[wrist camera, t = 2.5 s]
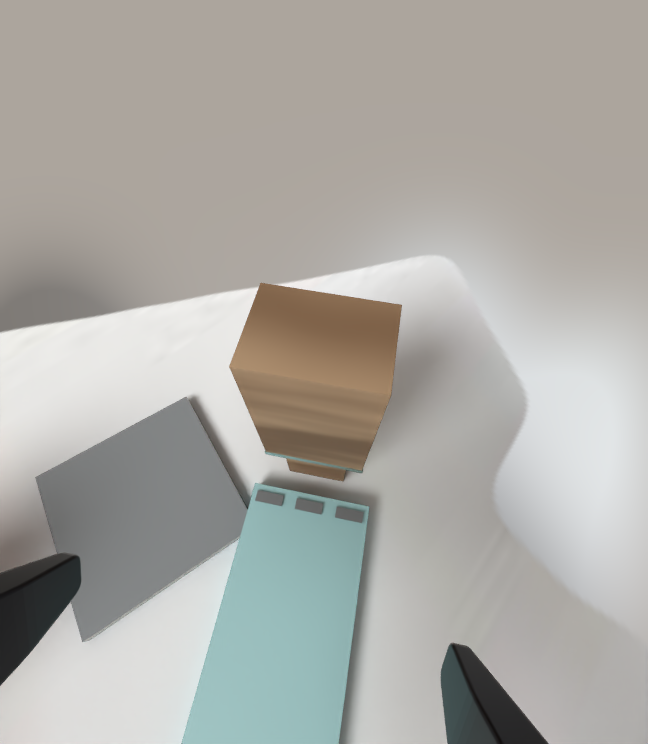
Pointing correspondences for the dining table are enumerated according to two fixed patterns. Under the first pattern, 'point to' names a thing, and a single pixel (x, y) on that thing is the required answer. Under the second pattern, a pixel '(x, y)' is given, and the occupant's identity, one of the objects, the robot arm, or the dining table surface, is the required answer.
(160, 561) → the coaster
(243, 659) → the board
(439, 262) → the dining table surface
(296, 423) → the stub
